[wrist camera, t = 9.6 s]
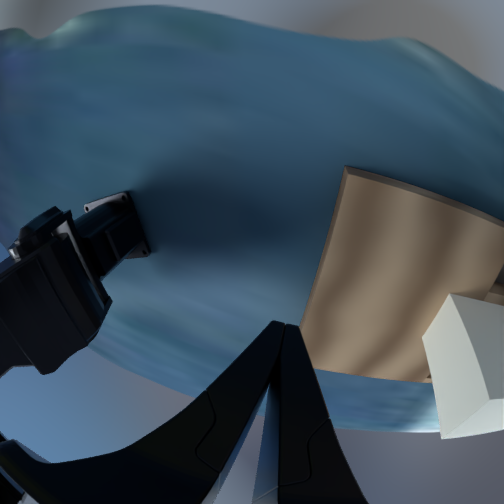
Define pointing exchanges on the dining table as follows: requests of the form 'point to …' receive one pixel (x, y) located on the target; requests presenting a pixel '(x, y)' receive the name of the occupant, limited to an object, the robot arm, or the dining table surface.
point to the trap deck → (395, 275)
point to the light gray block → (467, 366)
